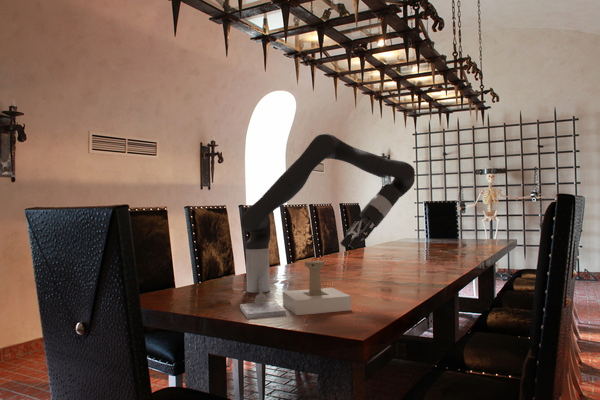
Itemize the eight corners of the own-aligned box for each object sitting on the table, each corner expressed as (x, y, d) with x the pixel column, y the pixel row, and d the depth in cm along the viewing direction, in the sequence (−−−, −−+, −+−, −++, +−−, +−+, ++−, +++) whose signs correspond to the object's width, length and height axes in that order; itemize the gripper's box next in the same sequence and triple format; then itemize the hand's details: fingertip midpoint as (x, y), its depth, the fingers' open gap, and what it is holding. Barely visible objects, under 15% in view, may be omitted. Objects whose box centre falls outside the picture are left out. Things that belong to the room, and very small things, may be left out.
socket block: (283, 304, 165) (282, 291, 165) (332, 300, 170) (332, 287, 170) (296, 315, 148) (295, 300, 148) (351, 310, 152) (350, 296, 152)
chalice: (273, 299, 174) (272, 250, 175) (267, 303, 168) (266, 251, 168) (254, 299, 176) (253, 250, 177) (248, 303, 170) (246, 252, 170)
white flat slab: (240, 308, 160) (239, 304, 160) (275, 305, 163) (275, 301, 163) (247, 318, 145) (247, 313, 145) (286, 315, 148) (286, 310, 148)
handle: (324, 308, 156) (322, 262, 156) (304, 308, 157) (303, 262, 157) (326, 305, 160) (325, 260, 161) (307, 305, 162) (306, 261, 162)
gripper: (360, 204, 172) (332, 238, 169) (377, 202, 159) (346, 239, 155) (374, 218, 174) (346, 252, 170) (392, 217, 160) (362, 254, 157)
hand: (346, 246), depth 163 cm, fingers open, 8 cm apart
